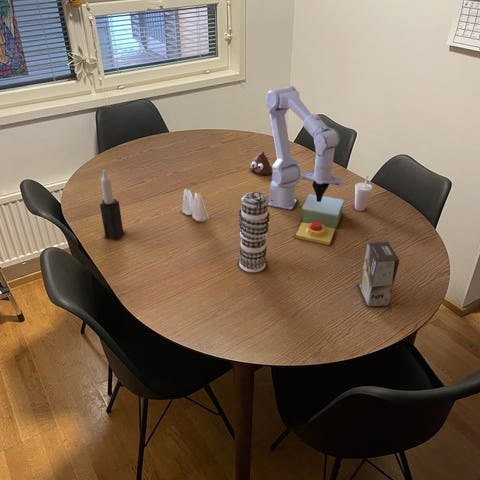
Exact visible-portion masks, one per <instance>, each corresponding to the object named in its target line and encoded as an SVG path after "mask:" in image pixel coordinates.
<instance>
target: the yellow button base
mask: <svg viewBox="0 0 480 480" xmlns="http://www.w3.org/2000/svg"><path fill="white" fill-rule="evenodd" d="M335 232H336V229H334V228H329V227H325V226H324V225H322V227H321V230H320V231H314V230H312V229H311V223H310V224H309V223H304V222H301V223H300V225H299V227H298V230H297V231H296V234H295V239H298V240H299V239H300V240H303V241H308V242H313V243H317V244H323V245H326V246H327V245H328V246H330V245H331V244H332V243H331V242H332V240H333V237H334V234H335Z"/></svg>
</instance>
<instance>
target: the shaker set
mask: <svg viewBox="0 0 480 480" xmlns="http://www.w3.org/2000/svg"><path fill="white" fill-rule="evenodd" d="M182 197H183V199H182V209H181V213H183V214H185V215H186V216H191V218H193V219H194V220H195V221H197V222H199V223H202V222H204V221H206V220H207V219H210V217H209V213H208V211H207V208H206V205H205V203H204V199H203V197H202V195H201V193H199V192H198V193H197V192H194V194H192V191H191V190H190V189H189V188H188V189H187V188H184V189H183V196H182Z"/></svg>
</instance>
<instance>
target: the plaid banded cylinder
mask: <svg viewBox="0 0 480 480" xmlns="http://www.w3.org/2000/svg"><path fill="white" fill-rule="evenodd" d="M240 203H241V209H239V210H238V218H239V220H238V222H239V224H238V225H239V235H240V237H241V239H240V244H239V255H238V257H239V259H238V261H239V267H240V268H241V270H244V271H245V272H247V273H259V272H261V271H263V270H265V268H266V266H267V265H266V262H267V261H266V260H267V248H268V246H267V241H266V240H267V236H268V232H269V222H270V217H271V215H270V214H271V213H270V212H269V209H268V207H269V205H268V204H269V197H266V196H265V195H264V194H263V193H262V192H260V191H250V192H247V193H246V194H245V195H244V196H242V197H241V199H240Z"/></svg>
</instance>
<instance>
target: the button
mask: <svg viewBox="0 0 480 480" xmlns="http://www.w3.org/2000/svg"><path fill="white" fill-rule="evenodd" d="M321 227H322V223H321V222H318V221H313V222H312V223H311V229H312V230H314V231H320V230H321Z"/></svg>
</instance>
